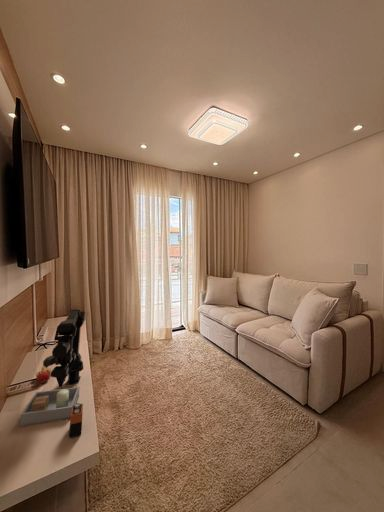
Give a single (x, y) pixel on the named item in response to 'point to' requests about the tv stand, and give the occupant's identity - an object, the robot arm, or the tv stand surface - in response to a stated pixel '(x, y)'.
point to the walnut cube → (40, 403)
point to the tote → (49, 408)
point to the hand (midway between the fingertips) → (63, 381)
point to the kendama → (43, 375)
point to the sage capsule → (62, 398)
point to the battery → (76, 420)
